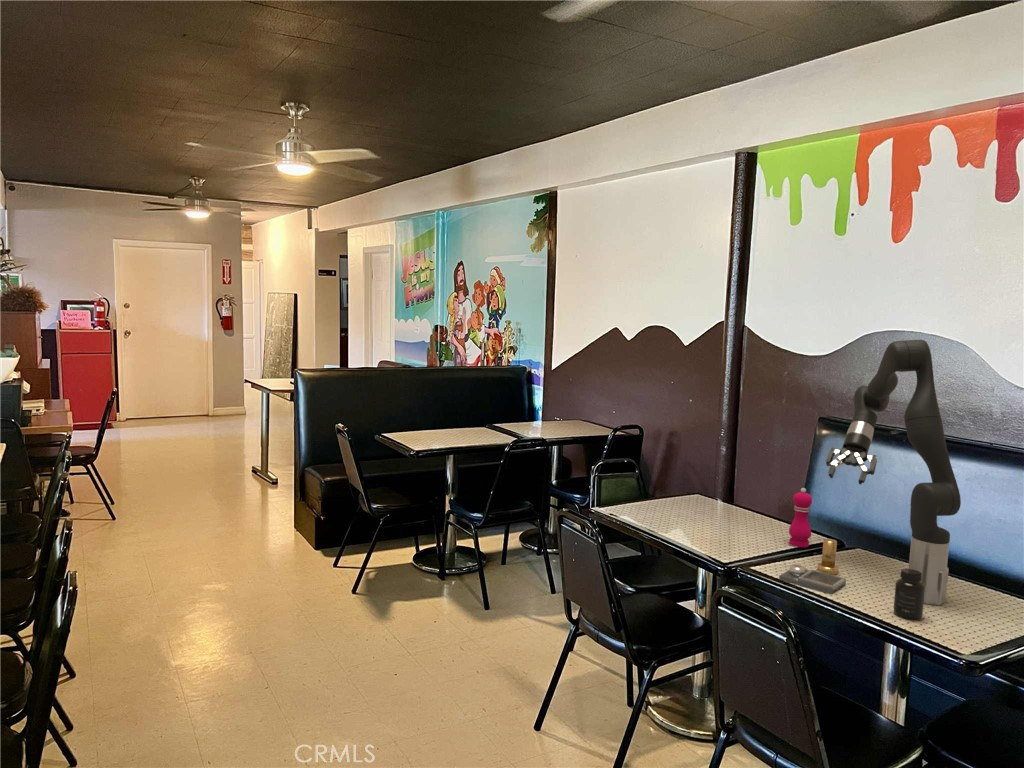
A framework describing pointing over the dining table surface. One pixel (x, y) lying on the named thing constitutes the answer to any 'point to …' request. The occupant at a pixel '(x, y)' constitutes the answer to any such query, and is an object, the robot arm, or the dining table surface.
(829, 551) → the brass knob
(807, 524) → the pepper mill
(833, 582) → the carrier
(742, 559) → the dining table surface
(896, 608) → the supplement bottle
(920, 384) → the robot arm
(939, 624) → the dining table surface
